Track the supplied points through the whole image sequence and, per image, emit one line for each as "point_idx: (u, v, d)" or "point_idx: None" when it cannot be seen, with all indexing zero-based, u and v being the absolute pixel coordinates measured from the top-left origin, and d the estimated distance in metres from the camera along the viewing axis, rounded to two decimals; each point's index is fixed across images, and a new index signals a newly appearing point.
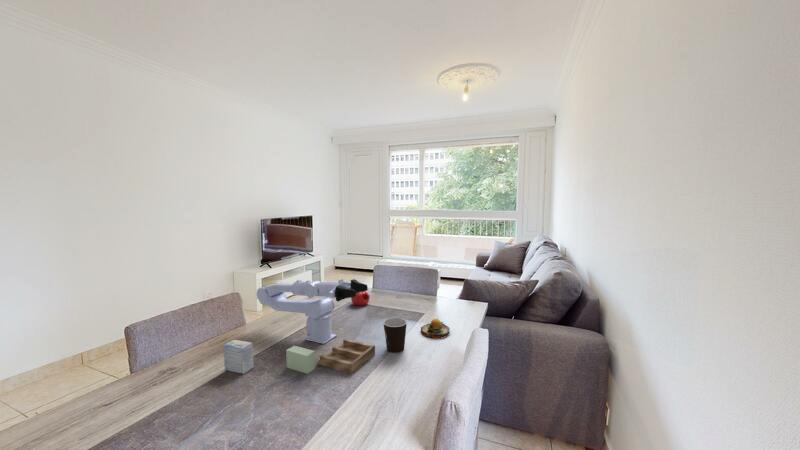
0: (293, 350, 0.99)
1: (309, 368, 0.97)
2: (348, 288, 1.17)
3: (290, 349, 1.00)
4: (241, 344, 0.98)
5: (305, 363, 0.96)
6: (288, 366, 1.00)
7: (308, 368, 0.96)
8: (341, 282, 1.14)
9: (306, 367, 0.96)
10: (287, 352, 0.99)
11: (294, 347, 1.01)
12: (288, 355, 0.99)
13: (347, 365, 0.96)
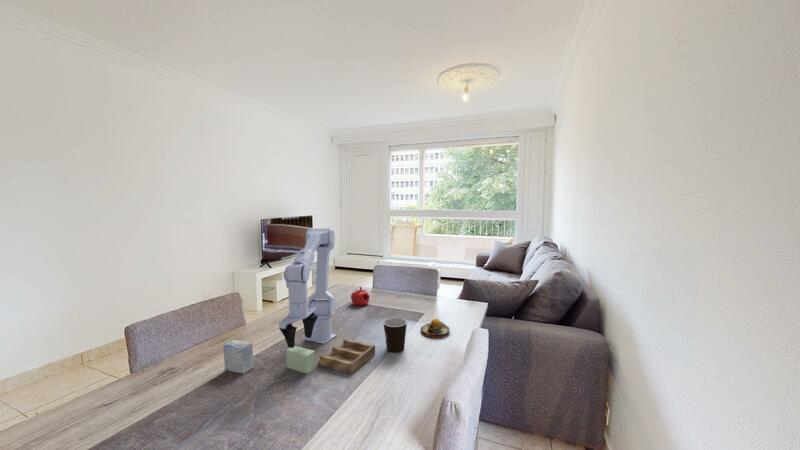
0: (293, 350, 0.99)
1: (309, 368, 0.97)
2: (293, 322, 0.96)
3: (290, 349, 1.00)
4: (241, 344, 0.98)
5: (305, 363, 0.96)
6: (288, 366, 1.00)
7: (308, 368, 0.96)
8: None
9: (306, 367, 0.96)
10: (287, 352, 0.99)
11: (294, 347, 1.01)
12: (288, 355, 0.99)
13: (347, 365, 0.96)
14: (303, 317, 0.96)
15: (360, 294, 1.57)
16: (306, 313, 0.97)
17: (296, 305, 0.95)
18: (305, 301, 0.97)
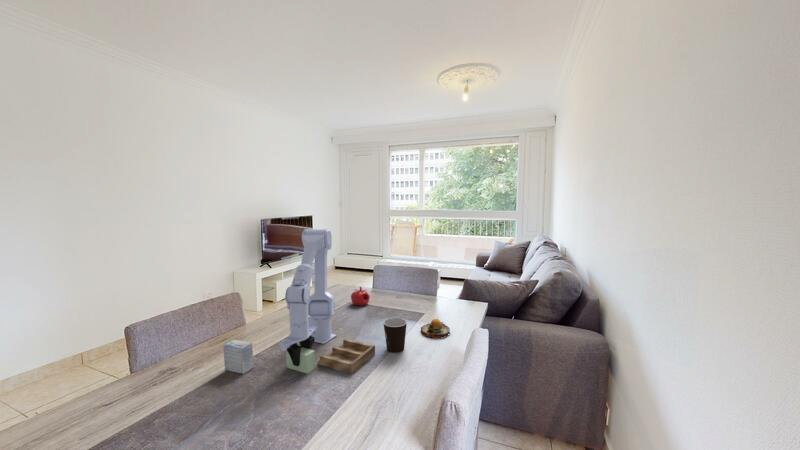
0: None
1: (309, 368, 0.97)
2: (294, 343, 0.97)
3: None
4: (241, 344, 0.98)
5: (305, 362, 0.96)
6: (288, 366, 1.00)
7: (308, 368, 0.96)
8: None
9: (306, 367, 0.96)
10: (287, 352, 0.99)
11: None
12: (287, 355, 0.99)
13: (347, 365, 0.96)
14: (304, 338, 0.97)
15: (360, 294, 1.57)
16: (307, 334, 0.98)
17: (297, 326, 0.96)
18: (306, 322, 0.97)
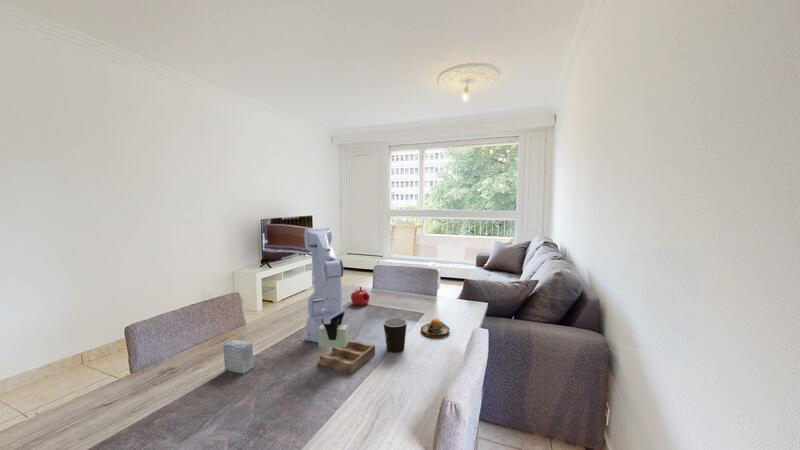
0: None
1: (346, 341, 1.00)
2: (331, 317, 0.98)
3: (322, 327, 1.00)
4: (241, 344, 0.98)
5: (342, 336, 0.99)
6: (321, 344, 0.99)
7: (345, 341, 0.99)
8: None
9: (344, 340, 0.99)
10: (320, 330, 0.99)
11: None
12: (320, 334, 0.99)
13: (347, 365, 0.96)
14: (341, 311, 0.99)
15: (360, 294, 1.57)
16: None
17: (335, 300, 0.97)
18: (341, 296, 1.00)
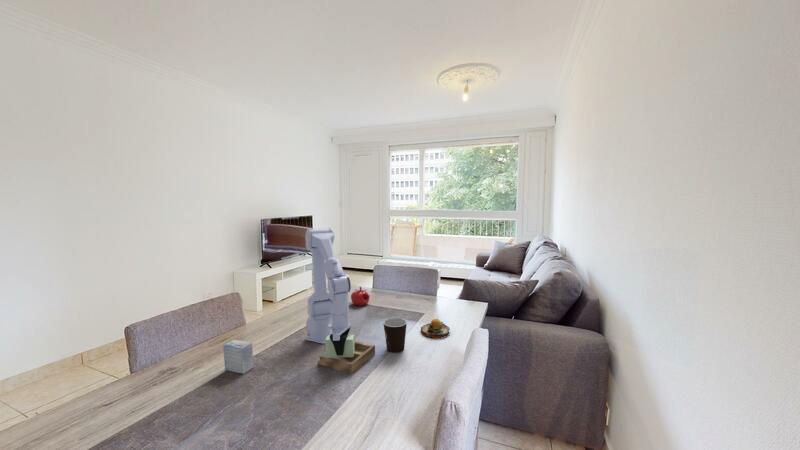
0: None
1: (353, 351, 1.01)
2: None
3: (328, 338, 1.00)
4: (241, 344, 0.98)
5: (350, 347, 1.00)
6: (328, 355, 1.00)
7: (353, 351, 1.00)
8: None
9: (351, 351, 1.00)
10: (327, 342, 0.99)
11: None
12: (327, 345, 1.00)
13: (347, 365, 0.96)
14: (348, 327, 1.00)
15: (360, 294, 1.57)
16: (348, 322, 1.01)
17: (343, 316, 0.98)
18: (348, 311, 1.01)
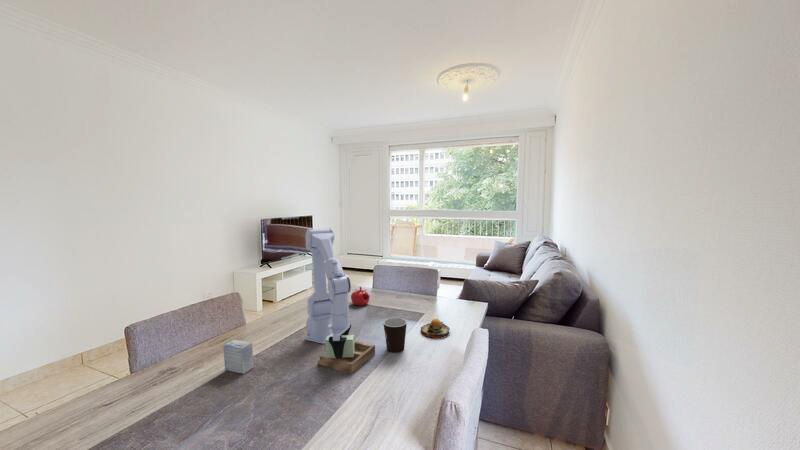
0: None
1: (353, 351, 1.01)
2: None
3: (328, 338, 1.00)
4: (241, 344, 0.98)
5: (350, 347, 1.00)
6: (328, 355, 1.00)
7: (353, 351, 1.00)
8: None
9: (351, 351, 1.00)
10: (327, 342, 0.99)
11: (330, 336, 1.02)
12: (327, 345, 1.00)
13: (347, 365, 0.96)
14: (348, 327, 1.00)
15: (360, 294, 1.57)
16: (348, 323, 1.01)
17: (343, 316, 0.98)
18: (348, 311, 1.01)
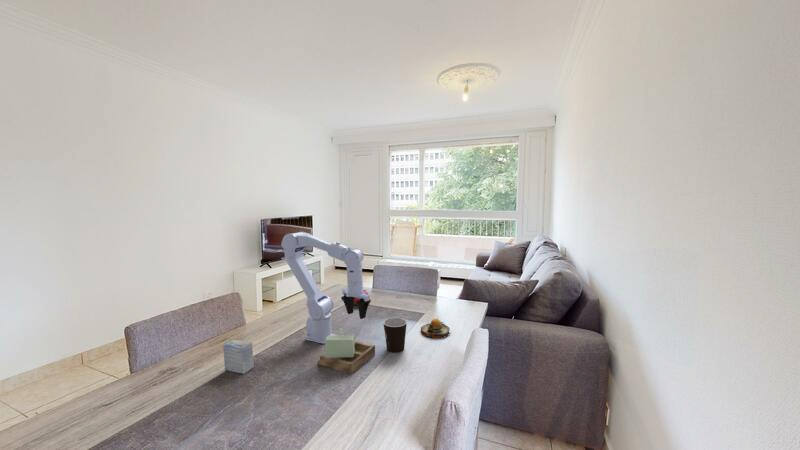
0: (333, 338, 1.00)
1: (353, 351, 1.01)
2: (359, 297, 1.14)
3: (328, 338, 1.00)
4: (241, 344, 0.98)
5: (350, 347, 1.00)
6: (328, 355, 1.00)
7: (353, 351, 1.00)
8: None
9: (351, 351, 1.00)
10: (327, 342, 0.99)
11: (330, 336, 1.02)
12: (327, 345, 1.00)
13: (347, 365, 0.96)
14: None
15: None
16: None
17: (362, 282, 1.15)
18: None
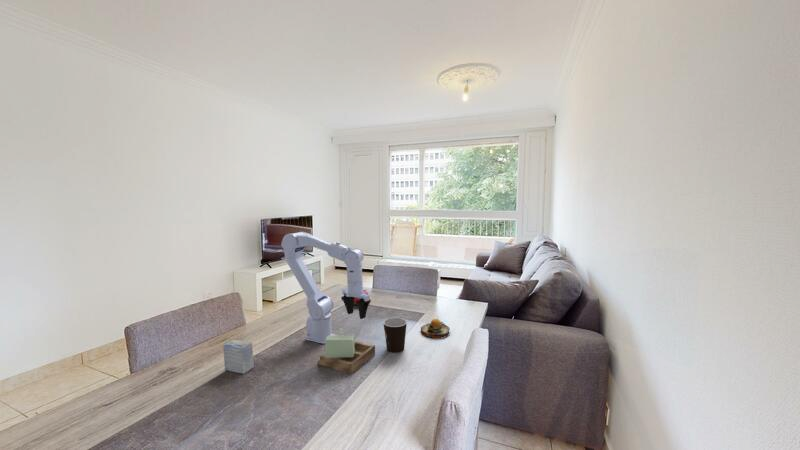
0: (333, 338, 1.00)
1: (353, 351, 1.01)
2: (359, 297, 1.14)
3: (328, 338, 1.00)
4: (241, 344, 0.98)
5: (350, 347, 1.00)
6: (328, 355, 1.00)
7: (353, 351, 1.00)
8: None
9: (351, 351, 1.00)
10: (327, 342, 0.99)
11: (330, 336, 1.02)
12: (327, 345, 1.00)
13: (347, 365, 0.96)
14: None
15: None
16: None
17: (362, 282, 1.15)
18: None
